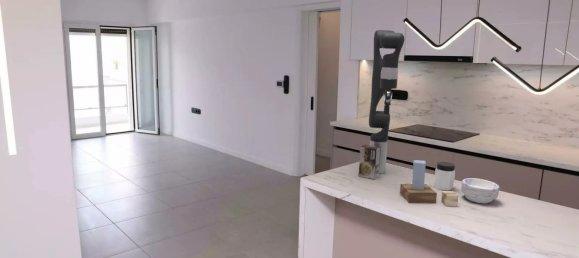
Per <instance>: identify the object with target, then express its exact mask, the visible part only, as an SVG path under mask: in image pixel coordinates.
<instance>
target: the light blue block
mask: <svg viewBox="0 0 579 258" xmlns="http://www.w3.org/2000/svg"><path fill="white" fill-rule="evenodd" d="M426 163H427V162H426V160H417V159H413V163H412V164H413V165H412V180H411V184H412V189H417V190H424V184H425V177H426Z"/></svg>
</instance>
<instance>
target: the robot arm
mask: <svg viewBox="0 0 579 258" xmlns="http://www.w3.org/2000/svg"><path fill="white" fill-rule="evenodd" d="M405 40H406V39H405V36H404V33H401V32H395V31H394V30H390V29H387V30H385V29H383V30H382V29H381V30H380V29H379V30H375V32H374V34H373V61H372V63H373V65H372V72H371V73H372V75H371V94H370V95H371V97H370V106H369V112H368V113H369V116H368V125H369V128H371V129H381V130H379V131H378V132H375V133H372V134H370V135H369V136H370V139H369V145H372V146H379V147H381V149H380V164H379V175H380V174H384V173H386V164H387V157H388V156H387V155H388V154H387V153H388V141H389V133H390V132H389V130H390V124H391V114H390V107H391V102H392V97H393V92H392V89H393V90H396V89H397V88H398V79H399V60H400V55H401V52H402V48H403V46H404V43H405ZM381 49H388V50H389V49H390V50H391V49H392V50H394V51H393V52H391V53H386V54H384V55H383V56H382V54H381ZM382 98H383V103H384V104H383V110H377V108H378V106H379V103H380V101H381V99H382Z"/></svg>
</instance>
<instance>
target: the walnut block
mask: <svg viewBox="0 0 579 258" xmlns="http://www.w3.org/2000/svg"><path fill="white" fill-rule="evenodd" d="M399 194H400V195H401V196H402V197H403V199H405V201H406V202H407V203H408V204H436V203H437V197H438V195H437V194H438V192H436V191H435V190H434V189H432V188H431V187H430V185H428V184H426V183H424V190H417V189H412V183H400V187H399Z"/></svg>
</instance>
